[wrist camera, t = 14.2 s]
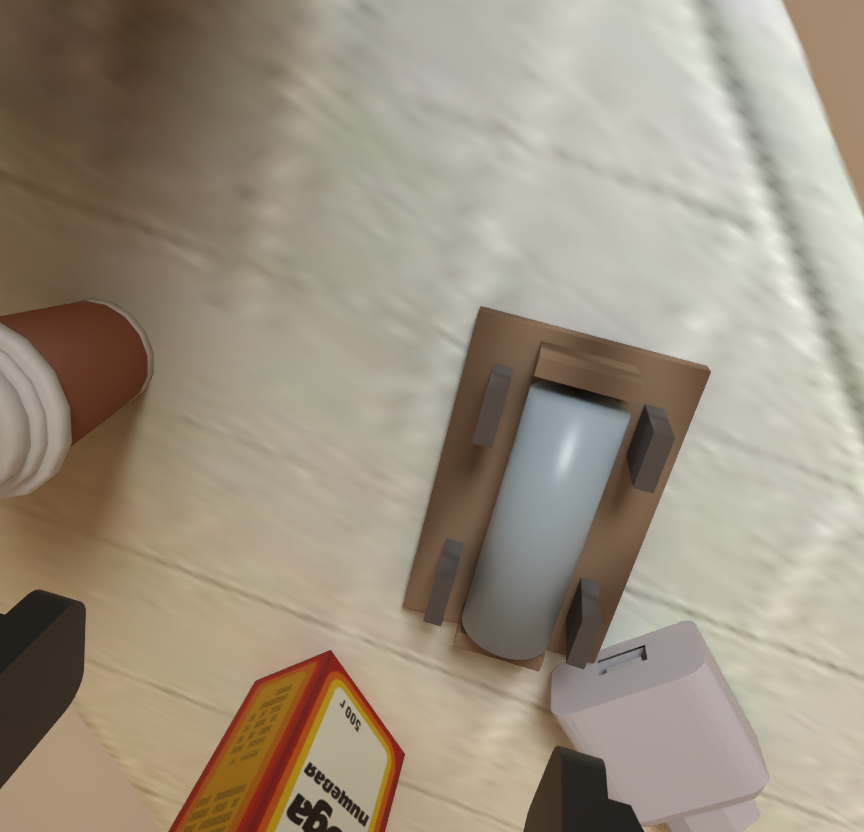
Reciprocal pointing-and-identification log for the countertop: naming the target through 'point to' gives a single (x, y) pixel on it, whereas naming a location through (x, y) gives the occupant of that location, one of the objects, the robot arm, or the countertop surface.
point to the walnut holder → (490, 450)
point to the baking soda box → (298, 759)
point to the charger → (665, 731)
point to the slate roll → (542, 517)
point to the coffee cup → (63, 383)
